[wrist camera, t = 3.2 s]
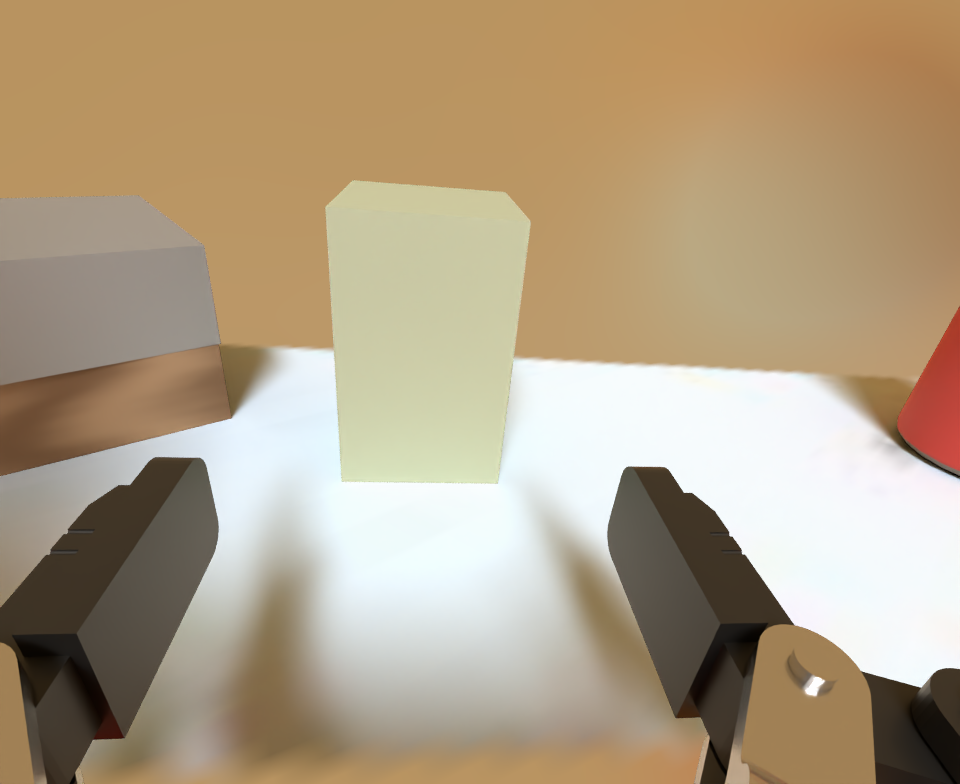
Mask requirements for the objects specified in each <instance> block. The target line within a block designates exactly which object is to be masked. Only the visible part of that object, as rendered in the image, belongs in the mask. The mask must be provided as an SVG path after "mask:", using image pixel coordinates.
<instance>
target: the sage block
mask: <svg viewBox="0 0 960 784" xmlns="http://www.w3.org/2000/svg"><path fill="white" fill-rule="evenodd" d="M326 223H327V239H328V257H329V274H330V290H331V308H332V325H333V341H334V359H335V376H336V393H337V410H338V427H339V444H340V461H341V478H342V482H409V483H490V484H498V476H499V469H500V461H501V453H502V445H503V437H504V429H505V421H506V413H507V405H508V398H509V390H510V382H511V374H512V366H513V358H514V350H515V342H516V335H517V327H518V318H519V311H520V303H521V294H522V287H523V279H524V271H525V263H526V256H527V247H528V240H529V231H530V224H531V221H530V220H529V219H528V218H527V217H526V215H525V214H523V212H522V211H521V210H520V209H519V207H518V206H517V205H516V204H515V203H514V202H513V200H512V199H511V198H510V197H509V196H508V195H507V193H505V192H495V191H481V190H470V189H456V188H444V187H431V186H418V185H405V184H392V183H379V182H367V181H354V180H353V181H352V182H351V183H350V184H349V185H348V186H347V187H346V188H345V189H344V190H343V191H342V192H341V193H340V194H339V195H338V196H336V197H335V198H334V199H333V200H332V202H330V203H329V204H328V205H327V206H326Z"/></svg>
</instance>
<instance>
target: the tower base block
mask: <svg viewBox="0 0 960 784" xmlns="http://www.w3.org/2000/svg"><path fill="white" fill-rule="evenodd" d="M227 419H231V412H230V407H229V401H228V395H227V389H226V384H225V378H224V372H223V366H222V361H221V355H220V349H219V345H218V344H217V345H212V346H206V347H201V348H196V349H190V350H185V351H180V352H174V353H169V354H164V355H158V356H153V357H148V358H142V359H137V360H132V361H126V362H121V363H116V364H110V365H105V366H100V367H95V368H89V369H84V370H79V371H73V372H68V373H63V374H57V375H52V376H47V377H41V378H36V379H31V380H25V381H20V382H15V383H9V384H4V385H0V476H3V475H7V474H11V473H15V472H19V471H23V470H27V469H31V468H35V467H39V466H43V465H47V464H51V463H55V462H59V461H63V460H67V459H71V458H75V457H79V456H83V455H87V454H91V453H95V452H99V451H103V450H107V449H111V448H115V447H119V446H123V445H127V444H131V443H135V442H139V441H143V440H147V439H151V438H155V437H159V436H163V435H167V434H171V433H175V432H179V431H183V430H187V429H191V428H195V427H199V426H203V425H207V424H211V423H215V422H219V421H223V420H227Z"/></svg>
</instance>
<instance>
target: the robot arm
mask: <svg viewBox="0 0 960 784" xmlns="http://www.w3.org/2000/svg"><path fill="white" fill-rule="evenodd" d="M218 529H219V526H218V518H217V513H216V509H215V504H214V499H213V495H212V490H211V486H210V481H209V476H208V472H207V468H206V465H205V462H204V461H203V460H202V459H201V458H171V457H155V458H153V459H151V460H150V461H149V462H148V463H147V465H146V466H145V467H144V468H143V470H142V471H141V472H140V473H139V475H138V476H137V477H136V478H135V480H134V481H133V482H132V484H131V485H118V486H117V487H115V488H114V489H112V490H111V491H109V492H108V493H106V494H105V495H103V496H102V497H100V498H99V499H97V500H96V501H94V502H93V503H91V504H90V505H88V507H87V508H86V509H85V510H84V511H83V512H82V514H81V515H80V516H79V517H78V518H77V519H76V521H75V522H74V523H73V524H72V525H71V526H70V528H69V529H68V533H67V534H64V535H63V536H62V537H61V538H60V539H59V540H58V542H57V543H56V544H55V545H54V546H53V547H52V549H51V553H50V555H46V556H45V557H44V558H43V559H42V560H41V561H40V563H39V564H38V565H37V566H36V567H35V568H34V570H33V571H32V572H31V573H30V574H29V575H28V577H27V578H26V579H25V580H24V581H23V582H22V584H21V585H20V586H19V587H18V588H17V589H16V591H15V592H14V593H13V594H12V595H11V596H10V598H9V599H8V600H7V601H6V602H5V603H4V605H3V606H2V607H1V608H0V784H84V780H83V776H82V772H81V770H80V767H79V765H80V763H81V761H82V759H83V757H84V755H85V754H86V752H87V750H88V748H89V746H90V744H91V742H92V740H97V739H122V738H125V736H126V734H127V732H128V730H129V728H130V726H131V724H132V722H133V720H134V718H135V716H136V714H137V712H138V710H139V707H140V705H141V703H142V701H143V699H144V697H145V695H146V693H147V691H148V689H149V687H150V685H151V683H152V681H153V679H154V676H155V674H156V672H157V670H158V668H159V666H160V664H161V662H162V660H163V658H164V656H165V654H166V652H167V650H168V648H169V646H170V643H171V641H172V639H173V637H174V635H175V633H176V631H177V629H178V627H179V625H180V623H181V621H182V619H183V617H184V615H185V613H186V610H187V608H188V606H189V604H190V602H191V600H192V598H193V596H194V594H195V592H196V590H197V588H198V586H199V584H200V582H201V580H202V577H203V575H204V573H205V571H206V569H207V567H208V565H209V563H210V561H211V559H212V557H213V554H214V552H215V549H216V545H217V540H218ZM607 537H608V547H609V551H610V555H611V558H612V560H613V563H614V565H615V568H616V570H617V573H618V575H619V578H620V580H621V583H622V585H623V588H624V590H625V593H626V595H627V598H628V600H629V603H630V605H631V608H632V610H633V613H634V615H635V618H636V620H637V623H638V625H639V628H640V630H641V633H642V635H643V638H644V640H645V643H646V645H647V648H648V650H649V653H650V655H651V658H652V660H653V663H654V665H655V668H656V670H657V673H658V675H659V678H660V680H661V683H662V685H663V688H664V690H665V693H666V695H667V698H668V700H669V703H670V705H671V708H672V710H673V713H674V715H675V718H695V717H701V719H702V721H703V723H704V726H705V728H706V730H707V732H708V734H707V736H706V738H705V740H704V743H703V746H702V750H701V755H700V759H699V764H698V768H697V773H696V777H695V781H694V784H960V669H954V668H945V669H941V670H938V671H936V672H935V673H934V674H933V675H932V676H931V677H930V678H929V680H928V681H927V682H926V683H925V684H924V685H923V687H922V688H920V687H916V686H912V685H909V684H905V683H901V682H898V681H894V680H890V679H887V678H883V677H880V676H876V675H872V674H869V673H865V672H862V671H860V669H859V668H858V667H857V665H856V664H855V663H854V662H853V661H852V660H851V658H850V657H849V656H848V655H847V654H846V653H844V652H843V651H842V650H841V649H840V648H839V647H837V646H836V645H835V644H833V643H832V642H831V641H829V640H827V639H826V638H824V637H823V636H821V635H819V634H817V633H815V632H813V631H810V630H808V629H805V628H802V627H799V626H795V625H794V624H793V623H792V621H791V620H790V618H789V617H788V615H787V614H786V613H785V611H784V610H783V608H782V607H781V605H780V604H779V603H778V601H777V600H776V598H775V597H774V595H773V594H772V593H771V591H770V590H769V588H768V587H767V585H766V584H765V583H764V581H763V580H762V578H761V577H760V575H759V574H758V573H757V571H756V570H755V568H754V567H753V565H752V564H751V563H750V561H749V560H748V558H747V557H746V555H742V550H741V548H740V547H739V545H738V544H737V543H736V541H735V540H734V538H733V537H730V536H729V531H728V530H727V528H726V527H725V525H724V524H723V522H722V521H721V520H720V518H719V517H718V515H717V514H716V512H715V511H714V510H712V509H711V508H710V507H709V506H708V505H706V504H705V503H704V502H703V501H701V500H700V499H699V498H698V497H696V496H695V495H694V494H693V493H684V492H683V491H682V489H681V488H680V486H679V485H678V483H677V482H676V480H675V479H674V477H673V476H672V474H671V473H670V471H669V470H668V469H667V468H665V467H626V468H625V469H624V471H623V473H622V476H621V479H620V483H619V487H618V490H617V494H616V498H615V501H614V505H613V509H612V512H611V516H610V520H609V524H608V532H607Z"/></svg>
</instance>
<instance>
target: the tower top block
mask: <svg viewBox="0 0 960 784" xmlns="http://www.w3.org/2000/svg"><path fill="white" fill-rule="evenodd" d="M217 344H221V341H220V336H219V330H218V324H217V318H216V312H215V306H214V301H213V295H212V289H211V283H210V277H209V271H208V265H207V260H206V254H205V248H204V245H203V244H202V243H200V242H199V241H198V240H196V239H195V238H194V237H192V236H191V235H190V234H189V233H187V232H186V231H184V230H183V229H182V228H180V227H179V226H178V225H177V224H175V223H174V222H173V221H171V220H170V219H169V218H167V217H166V216H165V215H164V214H162V213H161V212H160V211H158V210H157V209H156V208H154V207H153V206H152V205H150V204H149V203H148V202H146V201H145V200H144V199H142V198H141V197H140V196H96V197H95V196H94V197H48V198H47V197H46V198H0V385H4V384H9V383H15V382H20V381H25V380H31V379H36V378H41V377H47V376H52V375H57V374H63V373H68V372H73V371H79V370H84V369H89V368H95V367H100V366H105V365H110V364H116V363H121V362H126V361H132V360H137V359H142V358H148V357H153V356H158V355H164V354H169V353H174V352H180V351H185V350H190V349H196V348H201V347H206V346H212V345H217Z"/></svg>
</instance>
